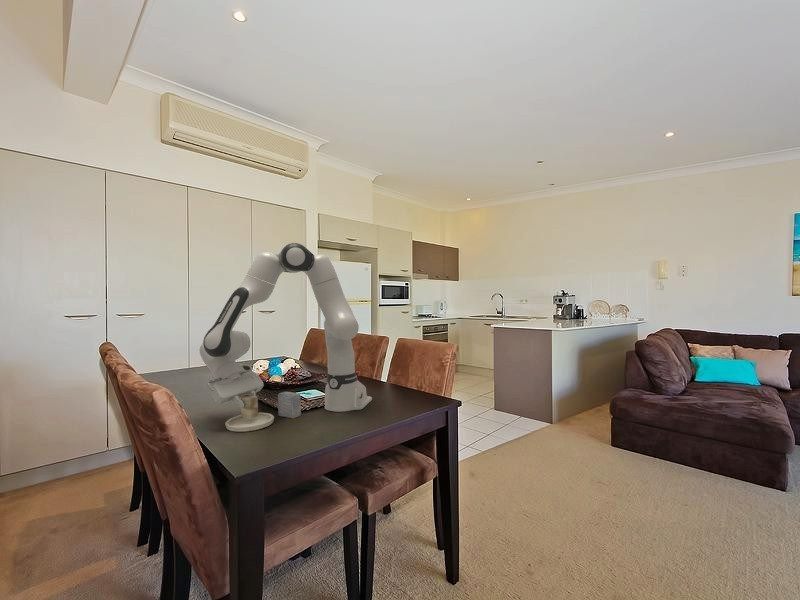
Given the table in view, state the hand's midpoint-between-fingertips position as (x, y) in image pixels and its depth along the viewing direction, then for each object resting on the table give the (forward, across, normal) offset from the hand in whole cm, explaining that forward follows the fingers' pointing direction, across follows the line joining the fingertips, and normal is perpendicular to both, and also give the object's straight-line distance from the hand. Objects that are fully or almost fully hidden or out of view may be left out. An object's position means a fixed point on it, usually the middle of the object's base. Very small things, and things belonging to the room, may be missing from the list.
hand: (249, 404), depth 139 cm
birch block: (+3, 0, +3) cm, 4 cm away
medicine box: (+10, +13, 0) cm, 17 cm away
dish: (+5, 0, +5) cm, 7 cm away
